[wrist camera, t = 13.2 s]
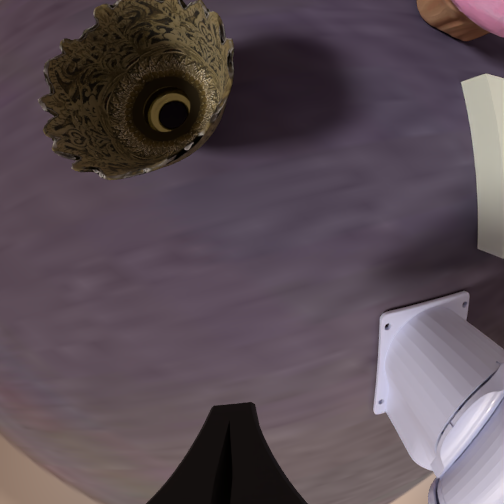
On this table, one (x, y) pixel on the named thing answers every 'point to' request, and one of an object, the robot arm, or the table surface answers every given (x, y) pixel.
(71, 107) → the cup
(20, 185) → the table surface
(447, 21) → the cupcake
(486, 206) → the board
